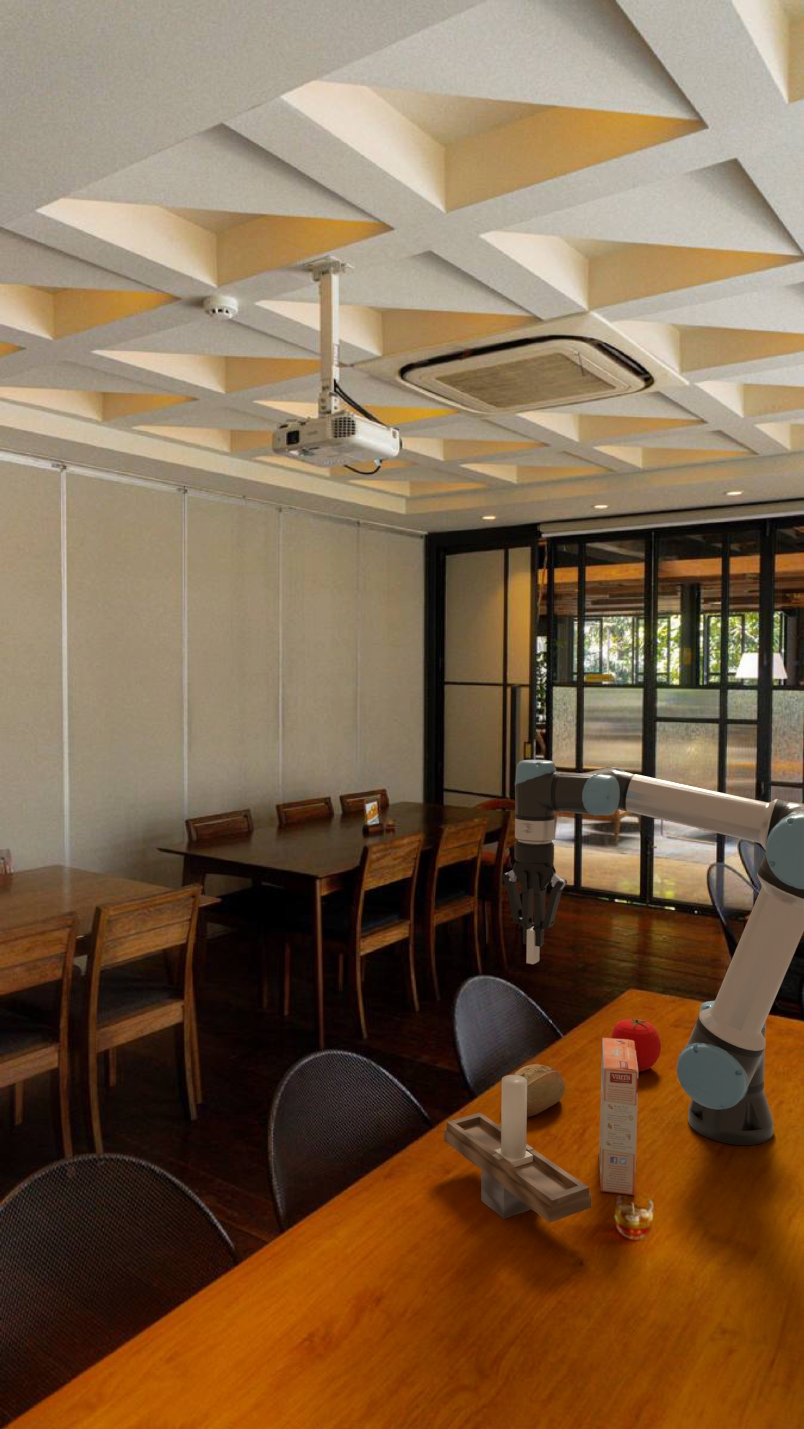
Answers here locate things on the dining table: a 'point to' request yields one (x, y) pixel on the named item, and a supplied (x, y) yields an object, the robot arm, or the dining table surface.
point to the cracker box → (618, 1116)
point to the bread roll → (541, 1087)
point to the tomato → (640, 1040)
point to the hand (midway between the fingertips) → (532, 961)
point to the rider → (514, 1121)
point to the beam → (515, 1174)
